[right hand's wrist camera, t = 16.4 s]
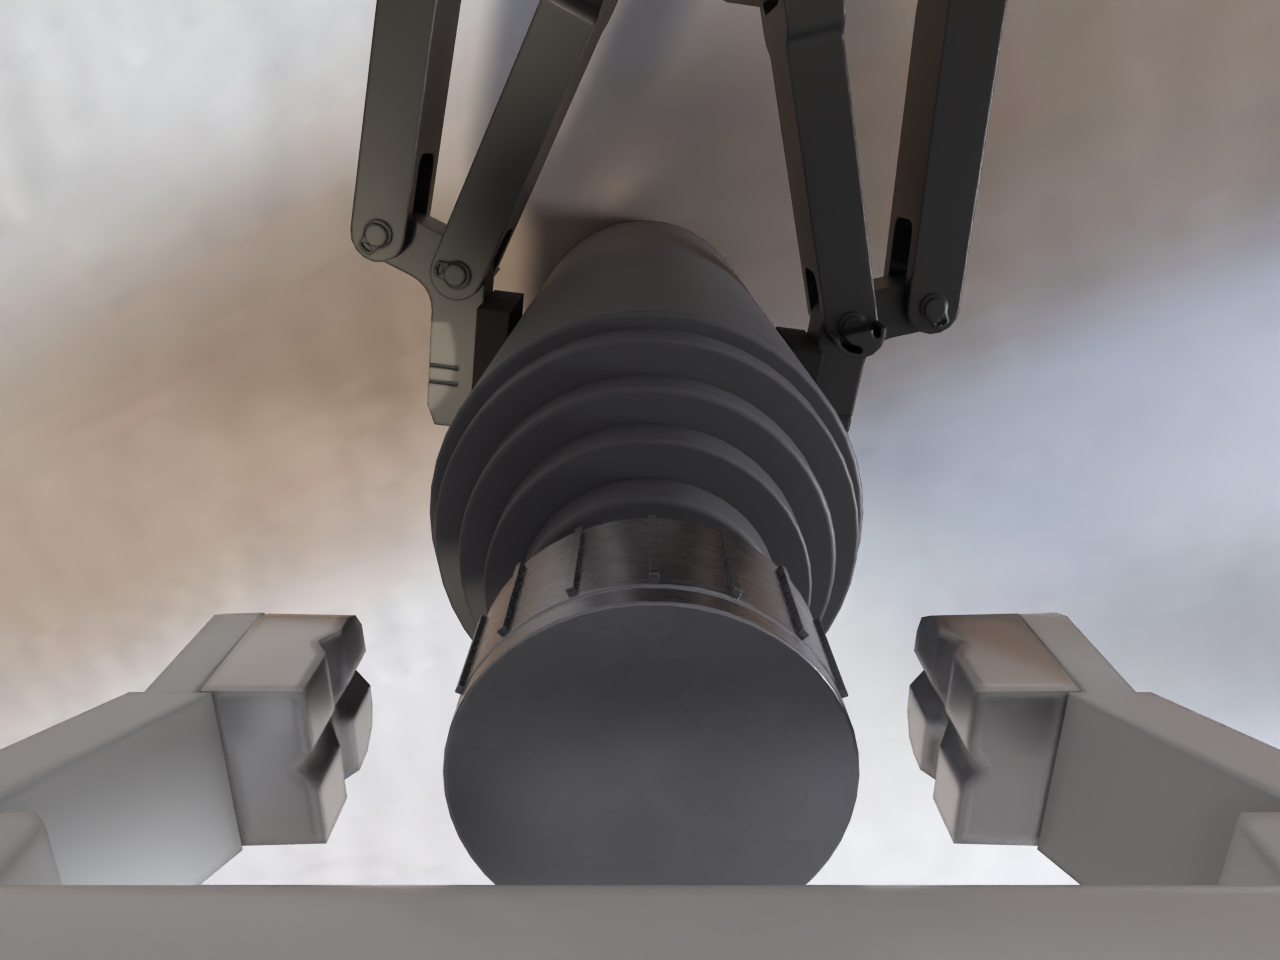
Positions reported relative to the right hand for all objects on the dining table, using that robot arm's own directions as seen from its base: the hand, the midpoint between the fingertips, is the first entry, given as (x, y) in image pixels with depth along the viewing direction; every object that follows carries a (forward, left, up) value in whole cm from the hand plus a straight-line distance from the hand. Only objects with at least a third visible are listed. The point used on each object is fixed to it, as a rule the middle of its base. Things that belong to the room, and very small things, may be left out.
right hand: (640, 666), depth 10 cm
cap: (0, 0, +2) cm, 2 cm away
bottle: (0, 0, -19) cm, 19 cm away
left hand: (-5, 0, -13) cm, 14 cm away
